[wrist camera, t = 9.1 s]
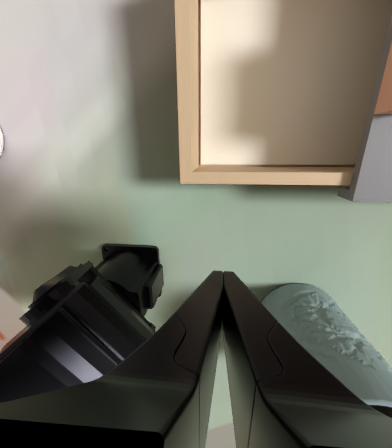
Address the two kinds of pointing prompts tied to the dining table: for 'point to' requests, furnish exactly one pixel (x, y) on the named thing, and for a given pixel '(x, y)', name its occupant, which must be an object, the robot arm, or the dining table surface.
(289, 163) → the base
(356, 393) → the teal cup
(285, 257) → the dining table surface
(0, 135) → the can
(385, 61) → the lid
